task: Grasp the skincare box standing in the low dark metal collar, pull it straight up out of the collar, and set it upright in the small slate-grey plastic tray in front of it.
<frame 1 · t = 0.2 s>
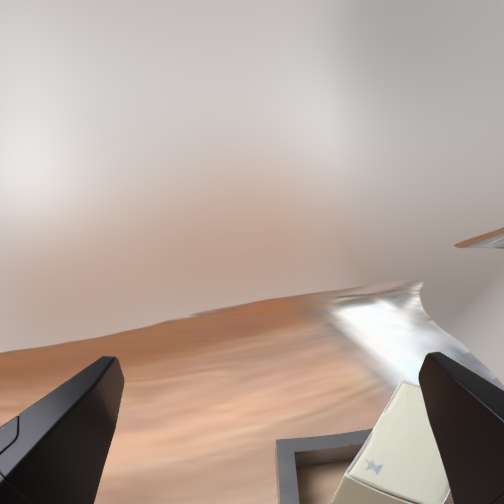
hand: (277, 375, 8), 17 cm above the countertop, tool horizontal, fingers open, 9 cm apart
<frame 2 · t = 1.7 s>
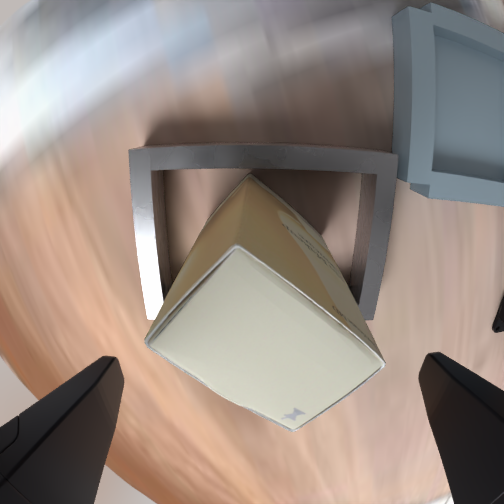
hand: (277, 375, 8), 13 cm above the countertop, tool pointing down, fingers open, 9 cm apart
slate tray: (469, 109, 17), on the countertop
skincare box: (262, 227, 20), resting in metal collar
metal collar: (262, 228, 20), on the countertop
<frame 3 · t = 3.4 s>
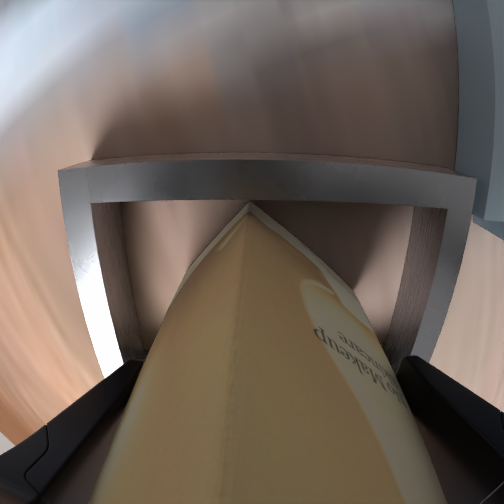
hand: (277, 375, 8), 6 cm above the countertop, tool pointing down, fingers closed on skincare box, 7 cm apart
skincare box: (268, 279, 14), resting in metal collar, touching gripper
metal collar: (269, 281, 13), on the countertop
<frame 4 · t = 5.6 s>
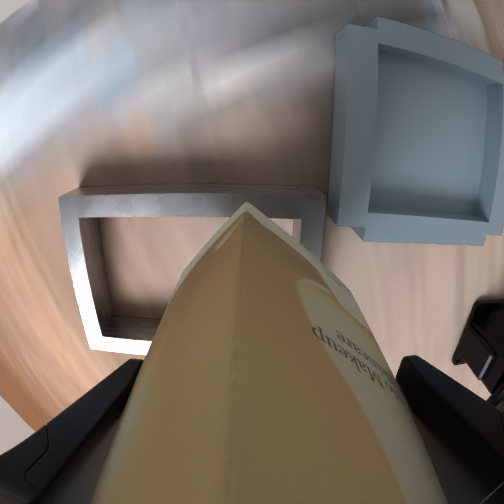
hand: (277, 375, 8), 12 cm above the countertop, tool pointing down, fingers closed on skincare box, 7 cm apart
slate tray: (425, 136, 17), on the countertop
skincare box: (265, 279, 14), point 6 cm above the countertop, touching gripper
metal collar: (192, 267, 20), on the countertop
when the fingers open (8 cm above the countertop, at t = 8.2 s): skincare box drops 1 cm, resting on slate tray.
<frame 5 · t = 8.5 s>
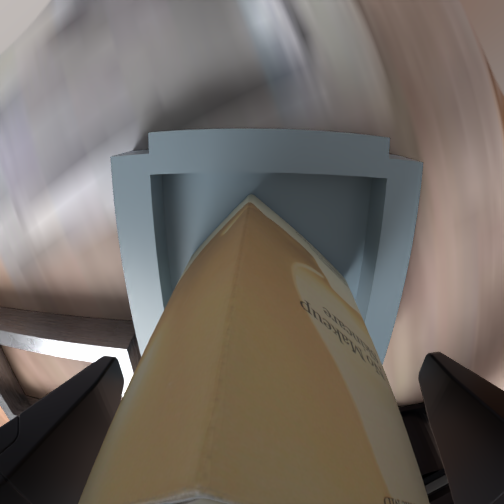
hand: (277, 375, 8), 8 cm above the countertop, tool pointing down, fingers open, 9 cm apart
slate tray: (265, 259, 15), on the countertop
skincare box: (267, 265, 15), point 1 cm above the countertop, touching slate tray
metal collar: (63, 373, 19), on the countertop
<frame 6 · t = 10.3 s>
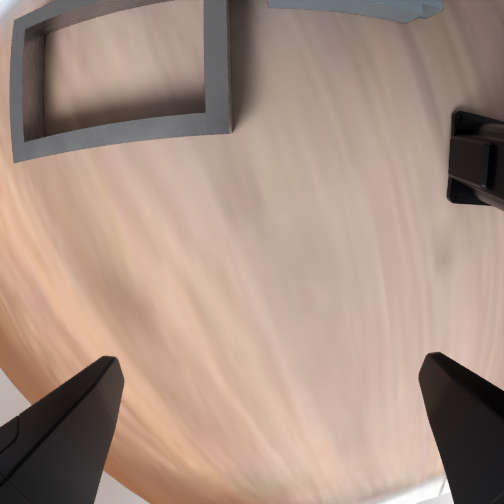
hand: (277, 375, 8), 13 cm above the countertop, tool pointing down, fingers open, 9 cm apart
metal collar: (116, 64, 16), on the countertop
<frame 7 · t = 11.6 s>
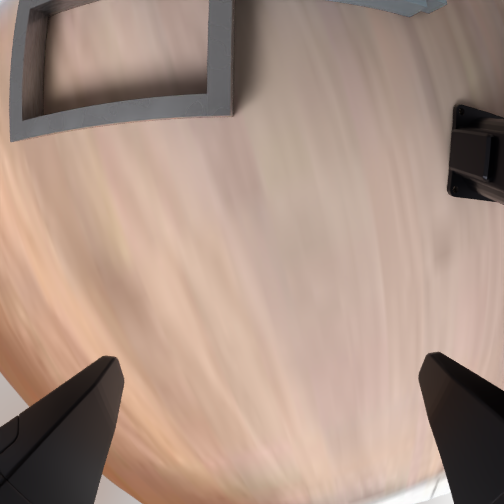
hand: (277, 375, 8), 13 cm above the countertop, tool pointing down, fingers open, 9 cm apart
metal collar: (119, 46, 16), on the countertop
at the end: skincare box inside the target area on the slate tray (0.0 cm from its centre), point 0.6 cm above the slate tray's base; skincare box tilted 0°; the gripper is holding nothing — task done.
